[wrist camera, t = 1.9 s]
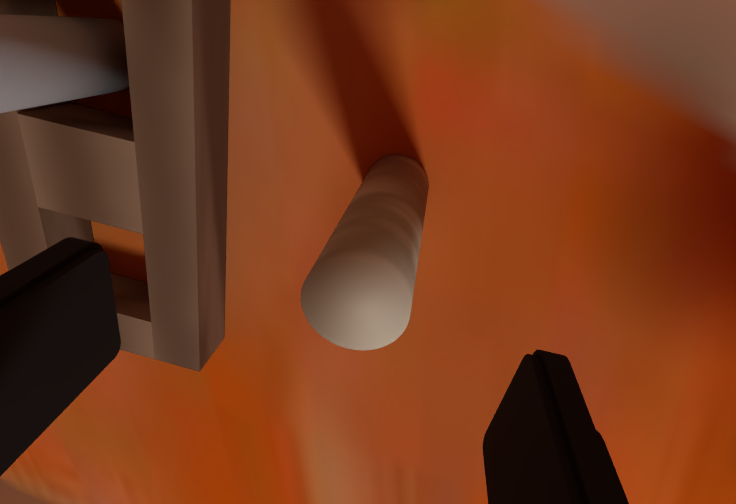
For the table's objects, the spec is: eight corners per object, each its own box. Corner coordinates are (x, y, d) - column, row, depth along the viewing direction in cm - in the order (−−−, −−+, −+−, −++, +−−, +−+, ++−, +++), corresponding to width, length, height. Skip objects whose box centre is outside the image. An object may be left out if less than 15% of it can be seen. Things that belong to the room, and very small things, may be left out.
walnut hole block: (231, -68, 16) (189, -86, 14) (224, 337, 27) (199, 371, 24) (-25, -120, 17) (-111, -147, 14) (64, 294, 27) (23, 322, 25)
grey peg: (144, 25, 19) (-128, 21, 10) (149, 95, 20) (-83, 146, 11) (81, 11, 19) (-238, -4, 10) (91, 82, 20) (-182, 121, 12)
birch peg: (435, 163, 19) (422, 274, 10) (419, 221, 21) (396, 361, 12) (372, 147, 19) (307, 244, 11) (360, 206, 21) (295, 334, 12)
